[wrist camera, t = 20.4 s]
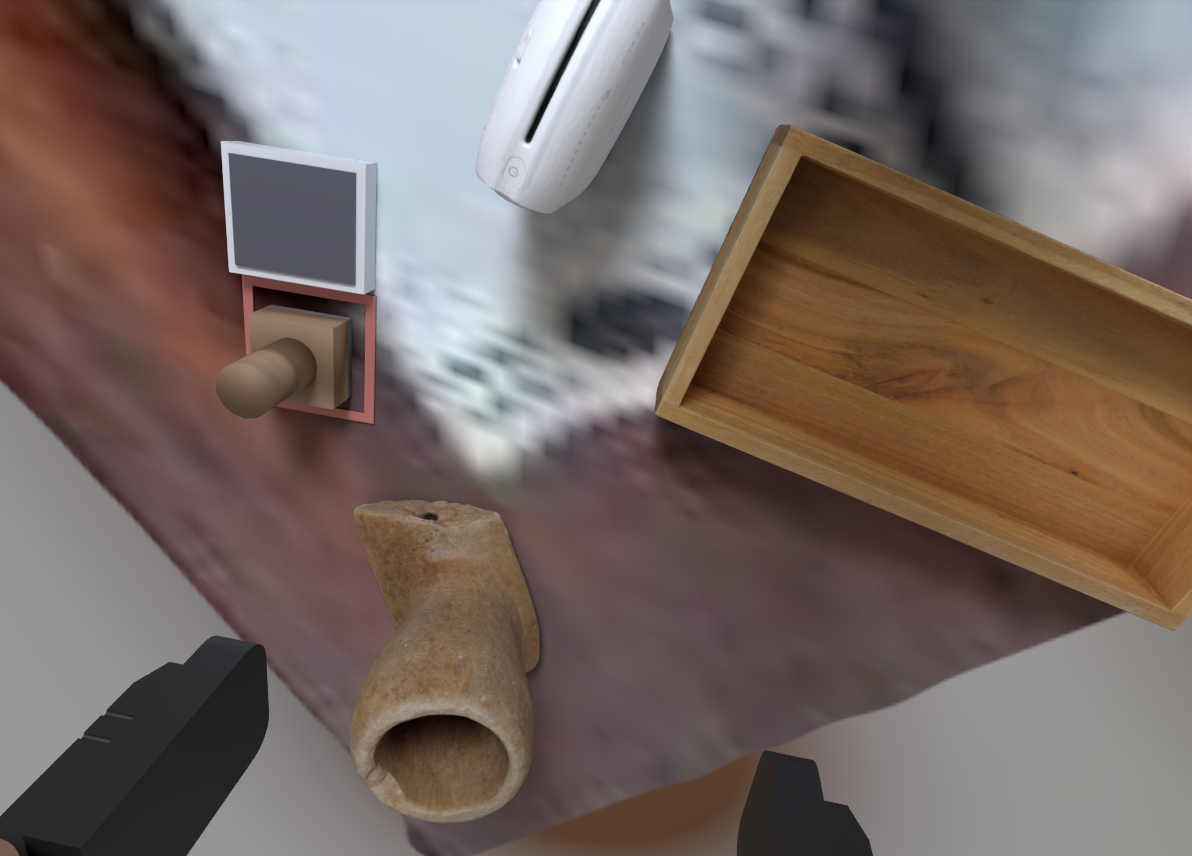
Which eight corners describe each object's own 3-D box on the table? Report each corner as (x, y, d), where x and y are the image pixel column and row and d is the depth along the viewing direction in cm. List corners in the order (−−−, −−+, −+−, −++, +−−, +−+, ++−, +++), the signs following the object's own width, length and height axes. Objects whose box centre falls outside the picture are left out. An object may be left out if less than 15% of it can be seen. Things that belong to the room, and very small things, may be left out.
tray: (1311, 357, 38) (1409, 394, 33) (1121, 576, 44) (1179, 637, 39) (777, 122, 37) (791, 121, 32) (657, 380, 43) (652, 415, 38)
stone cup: (583, 663, 51) (543, 860, 37) (426, 675, 53) (333, 865, 40) (535, 470, 46) (468, 618, 32) (363, 492, 48) (230, 639, 34)
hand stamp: (272, 304, 44) (193, 337, 37) (352, 317, 43) (288, 353, 37) (275, 382, 46) (201, 427, 39) (352, 395, 45) (291, 443, 38)
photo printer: (584, 206, 39) (540, 238, 28) (515, 164, 39) (442, 179, 28) (687, 16, 35) (684, -37, 24) (611, -33, 35) (571, -111, 24)
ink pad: (237, 140, 40) (218, 141, 39) (376, 162, 40) (364, 164, 38) (243, 267, 43) (227, 272, 41) (374, 289, 42) (362, 295, 41)
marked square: (242, 273, 43) (241, 273, 43) (376, 296, 43) (375, 296, 42) (249, 401, 46) (249, 401, 46) (374, 423, 46) (373, 424, 46)
